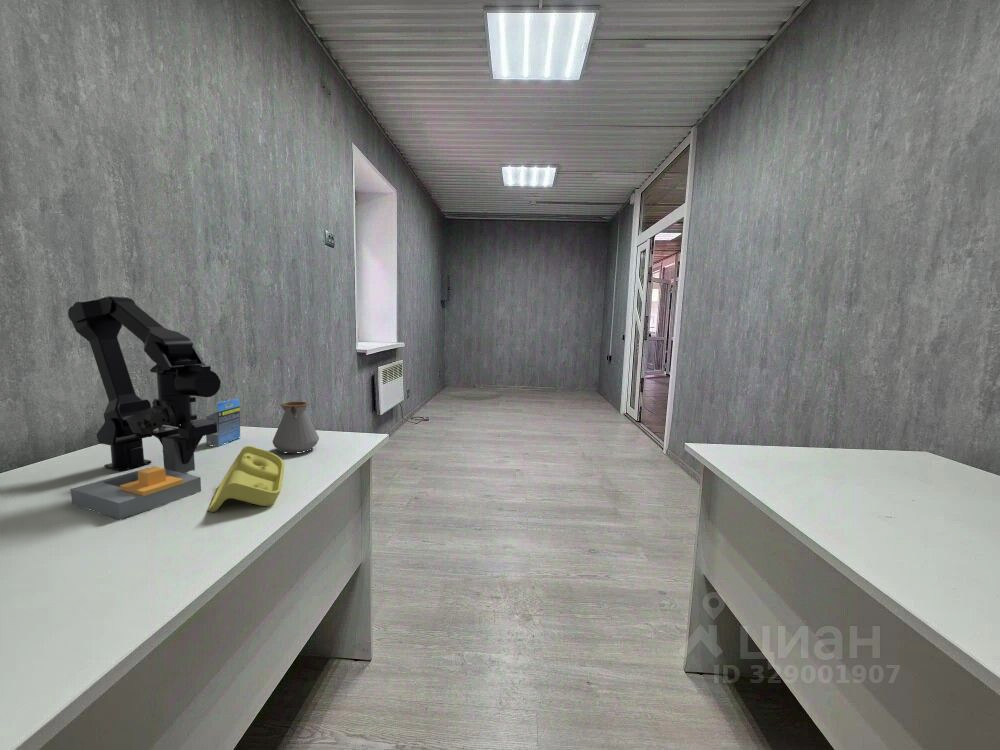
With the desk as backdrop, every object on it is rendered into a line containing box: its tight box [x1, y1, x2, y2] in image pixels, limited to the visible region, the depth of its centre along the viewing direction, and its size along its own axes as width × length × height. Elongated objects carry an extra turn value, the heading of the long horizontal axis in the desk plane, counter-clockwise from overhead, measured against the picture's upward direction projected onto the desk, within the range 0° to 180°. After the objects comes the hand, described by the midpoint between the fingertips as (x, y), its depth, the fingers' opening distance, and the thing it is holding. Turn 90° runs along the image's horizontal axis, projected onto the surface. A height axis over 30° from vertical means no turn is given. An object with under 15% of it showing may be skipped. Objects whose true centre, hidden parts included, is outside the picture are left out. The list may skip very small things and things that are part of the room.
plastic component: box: [207, 445, 285, 513], centre depth 89 cm, size 20×7×10 cm
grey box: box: [161, 434, 196, 474], centre depth 96 cm, size 4×4×9 cm
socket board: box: [70, 465, 202, 520], centre depth 84 cm, size 15×14×3 cm
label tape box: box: [205, 397, 241, 447], centre depth 122 cm, size 9×4×12 cm, turn 174°
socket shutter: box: [120, 465, 184, 496], centre depth 82 cm, size 7×7×3 cm
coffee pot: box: [272, 401, 320, 453], centre depth 112 cm, size 21×12×15 cm, turn 24°
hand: (179, 462), depth 96 cm, fingers closed on grey box, 4 cm apart
